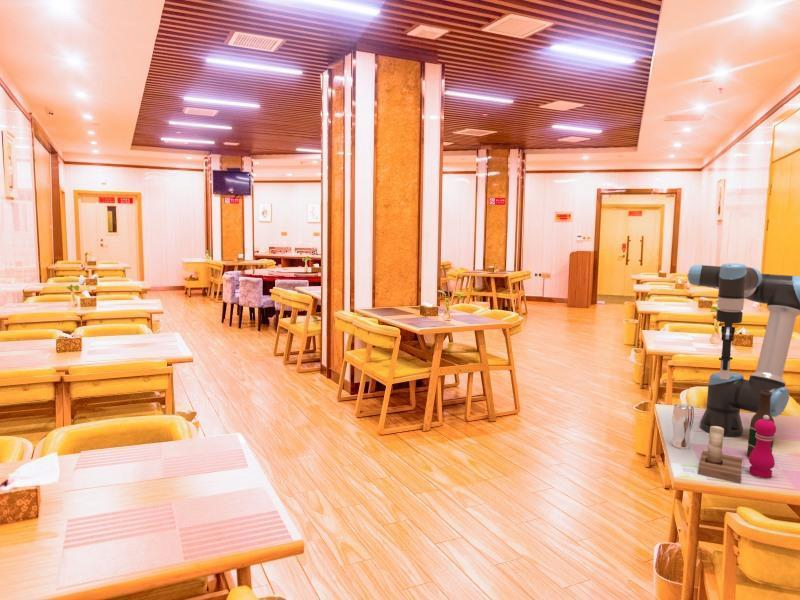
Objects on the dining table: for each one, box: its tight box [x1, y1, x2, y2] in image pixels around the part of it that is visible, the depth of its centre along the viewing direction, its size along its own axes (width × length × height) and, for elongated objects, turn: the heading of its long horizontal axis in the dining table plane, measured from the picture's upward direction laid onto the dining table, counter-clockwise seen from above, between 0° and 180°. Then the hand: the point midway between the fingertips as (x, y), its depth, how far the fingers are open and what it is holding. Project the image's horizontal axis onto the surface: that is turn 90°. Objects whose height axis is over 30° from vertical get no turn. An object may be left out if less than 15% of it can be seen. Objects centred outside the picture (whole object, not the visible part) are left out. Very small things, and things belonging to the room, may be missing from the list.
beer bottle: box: [746, 391, 776, 458], centre depth 203 cm, size 8×8×24 cm
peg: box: [707, 426, 724, 465], centre depth 193 cm, size 4×4×14 cm
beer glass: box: [671, 403, 695, 450], centre depth 213 cm, size 7×7×15 cm
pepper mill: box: [748, 415, 777, 479], centre depth 189 cm, size 7×7×20 cm
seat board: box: [697, 449, 743, 484], centre depth 193 cm, size 17×12×2 cm
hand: (724, 378), depth 198 cm, fingers closed
